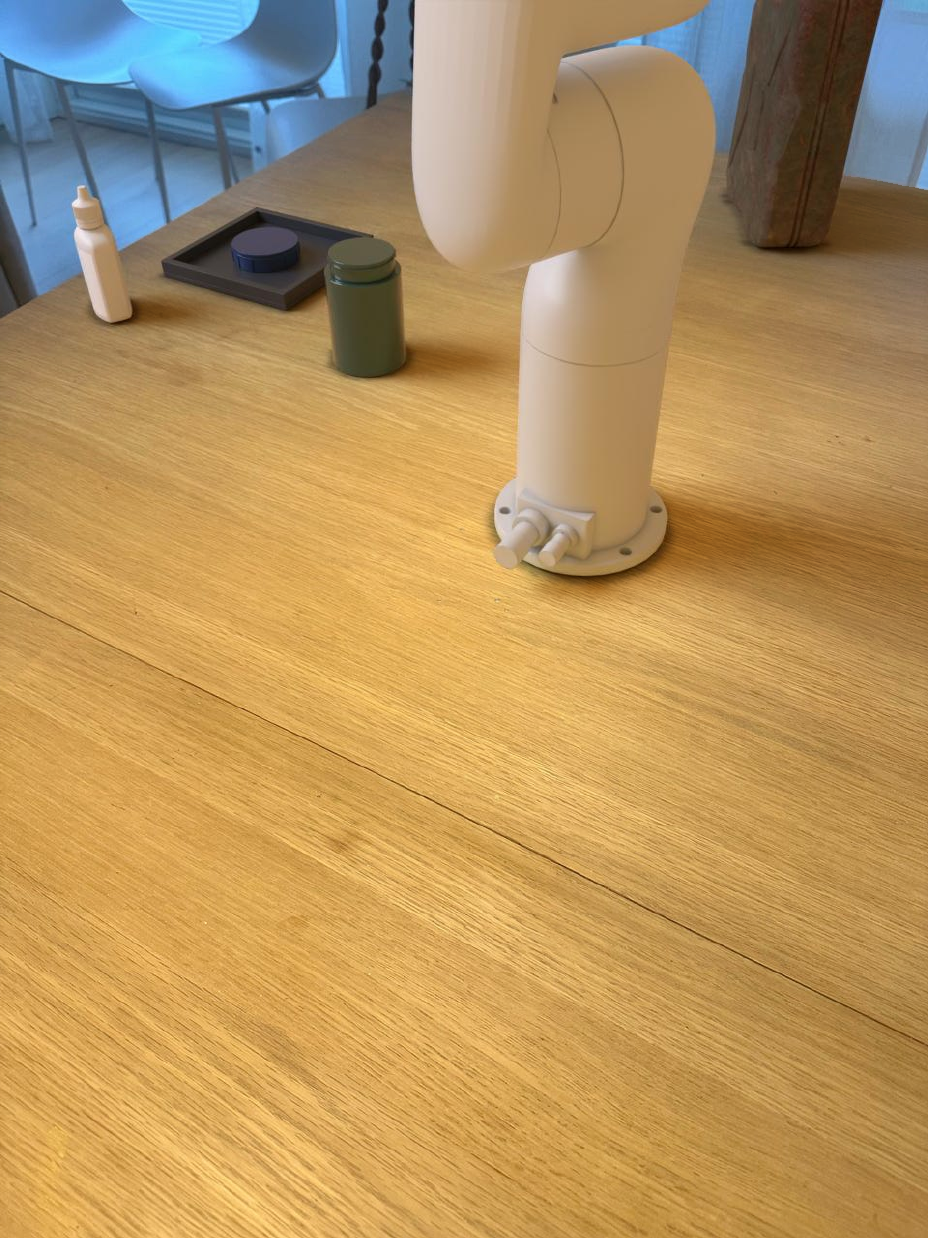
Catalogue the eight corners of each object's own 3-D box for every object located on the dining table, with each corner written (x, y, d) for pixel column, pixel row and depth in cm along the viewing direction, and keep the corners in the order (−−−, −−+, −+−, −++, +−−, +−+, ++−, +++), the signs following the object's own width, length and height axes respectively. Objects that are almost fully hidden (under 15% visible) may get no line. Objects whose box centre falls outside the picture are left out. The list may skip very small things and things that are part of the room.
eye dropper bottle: (83, 325, 101) (48, 199, 92) (97, 297, 105) (64, 175, 96) (129, 324, 101) (98, 198, 92) (141, 297, 105) (112, 174, 96)
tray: (286, 310, 102) (283, 294, 101) (164, 276, 108) (160, 260, 107) (374, 250, 112) (373, 234, 111) (258, 221, 118) (256, 206, 117)
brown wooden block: (831, 254, 110) (896, -19, 93) (751, 255, 110) (801, -18, 93) (788, 184, 124) (838, -65, 107) (717, 186, 124) (755, -63, 107)
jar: (396, 380, 93) (389, 270, 86) (324, 373, 94) (311, 264, 87) (413, 343, 97) (408, 237, 90) (344, 337, 98) (334, 231, 91)
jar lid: (304, 244, 112) (301, 226, 111) (295, 272, 107) (293, 254, 106) (240, 244, 112) (237, 226, 111) (228, 273, 107) (225, 255, 106)
